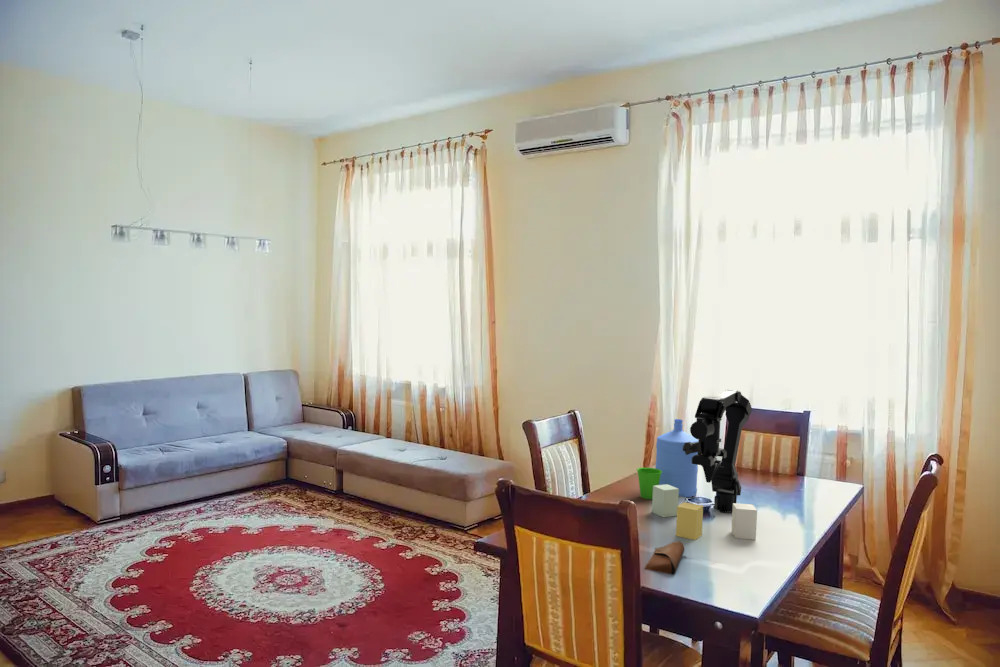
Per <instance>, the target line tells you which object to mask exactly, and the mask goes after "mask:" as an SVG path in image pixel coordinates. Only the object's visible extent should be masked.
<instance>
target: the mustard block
mask: <svg viewBox="0 0 1000 667" xmlns="http://www.w3.org/2000/svg"><path fill="white" fill-rule="evenodd" d="M703 514H704V505H702V504H696V503H691V502H685V501H683V502H682V503H680V504H678V506H677V516H676V527H675V528H676V530H675V536H676V537H681V538H684V539H689V540H693V541H696V540H698V539H699V538H700V537H701V536H702V535H703V520H704V519H703V518H704V515H703Z"/></svg>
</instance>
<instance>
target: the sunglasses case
mask: <svg viewBox="0 0 1000 667" xmlns="http://www.w3.org/2000/svg"><path fill="white" fill-rule="evenodd" d="M684 552H685V545H684V543H683V542H681V541H674V542H671V543H668V544H666V545H664V546H661V547H658V548H657V547H656V548H655V549H654V552H653V553H652V555H651V557H650V559H649V560H648V562H647V563H646V565H645V566H644V570H645V571H646V570H647V571H653V572H658V573H663V574H668V575H675V573H677V570H678V567H679V565H680V562H681V560H682V558H683V555H684Z"/></svg>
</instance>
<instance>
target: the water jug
mask: <svg viewBox="0 0 1000 667" xmlns="http://www.w3.org/2000/svg"><path fill="white" fill-rule="evenodd" d="M673 422H674V423H673V429H672V430H670V431H668V432H666V433H663V434H660V435H658V436H657V437H656V445H655V446H656V447H655V448H656V454H655V455H656V457H655V466H654V468H655V469H659V470H661V471H662V473H661V476H660V481H659V485H666V484H668V485H671V486H673V487H676V488H678V489H679V496H681V497H683V498H685V497H689V498H692V497H691V496H693V497H695V496H696V495H697V493H698V488H697V485H698V471H699V467H698V466H699V465H696V464H692V457H693V456H695V455H696V454H698V452H695V453H690V454H689V455H686V454H685V451H683V446H684V443H686V442H691V443H694V442H699V439H696V438H694V437H693V436H692V435H691V434H690V433H687V432H685V431H684V430H683V426H684V425H683V422H684V420H683V419H679V418H677V419H675V418H674V421H673Z"/></svg>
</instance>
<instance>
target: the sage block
mask: <svg viewBox="0 0 1000 667" xmlns="http://www.w3.org/2000/svg"><path fill="white" fill-rule="evenodd" d="M679 496H680V495H679V489H678V488H676V487H673V486H671V485H668V484H666V485H655V486H653V499H651V500H652V502H651V503H652V506H651V513H653V514H654V515H657V516H660V517H661V518H666V517H667V518H668V517H677V506H679Z"/></svg>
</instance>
